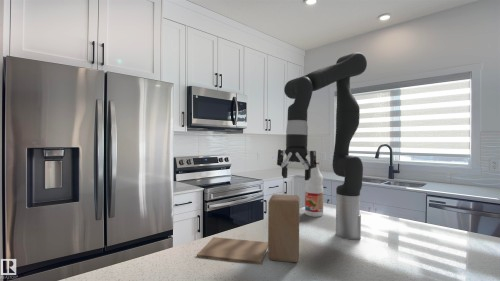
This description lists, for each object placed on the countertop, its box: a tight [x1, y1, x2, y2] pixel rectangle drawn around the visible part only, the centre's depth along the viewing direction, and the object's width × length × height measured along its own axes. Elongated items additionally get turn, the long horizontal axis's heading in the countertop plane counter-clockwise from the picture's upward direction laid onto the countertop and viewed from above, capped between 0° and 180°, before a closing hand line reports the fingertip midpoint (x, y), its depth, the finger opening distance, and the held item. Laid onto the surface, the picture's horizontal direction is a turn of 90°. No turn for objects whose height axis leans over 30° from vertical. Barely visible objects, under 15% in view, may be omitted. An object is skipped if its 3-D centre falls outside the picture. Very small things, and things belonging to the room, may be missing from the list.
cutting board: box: [196, 236, 268, 265], centre depth 93 cm, size 22×16×1 cm
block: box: [267, 194, 301, 263], centre depth 89 cm, size 10×10×20 cm
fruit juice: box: [304, 161, 324, 218], centre depth 138 cm, size 9×9×28 cm
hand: (295, 179), depth 93 cm, fingers open, 8 cm apart
